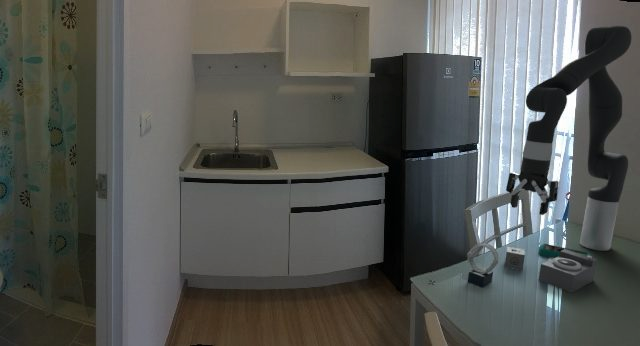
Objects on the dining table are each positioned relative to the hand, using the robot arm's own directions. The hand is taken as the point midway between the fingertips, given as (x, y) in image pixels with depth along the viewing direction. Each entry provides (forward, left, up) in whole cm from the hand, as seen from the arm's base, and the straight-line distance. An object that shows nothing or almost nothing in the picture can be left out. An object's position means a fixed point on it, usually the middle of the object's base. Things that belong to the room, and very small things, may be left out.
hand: (527, 210), depth 135 cm
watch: (+22, 0, -18) cm, 28 cm away
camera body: (-1, +13, -17) cm, 22 cm away
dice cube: (+2, -1, -18) cm, 18 cm away
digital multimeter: (-20, +4, -18) cm, 27 cm away
